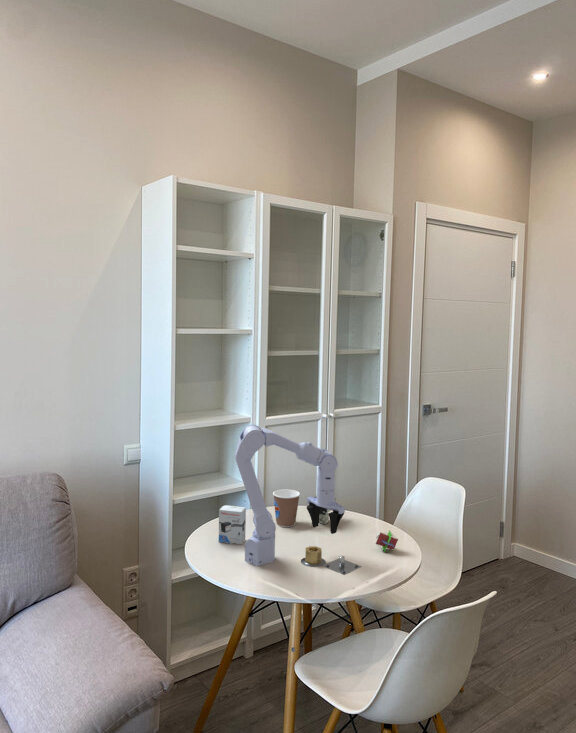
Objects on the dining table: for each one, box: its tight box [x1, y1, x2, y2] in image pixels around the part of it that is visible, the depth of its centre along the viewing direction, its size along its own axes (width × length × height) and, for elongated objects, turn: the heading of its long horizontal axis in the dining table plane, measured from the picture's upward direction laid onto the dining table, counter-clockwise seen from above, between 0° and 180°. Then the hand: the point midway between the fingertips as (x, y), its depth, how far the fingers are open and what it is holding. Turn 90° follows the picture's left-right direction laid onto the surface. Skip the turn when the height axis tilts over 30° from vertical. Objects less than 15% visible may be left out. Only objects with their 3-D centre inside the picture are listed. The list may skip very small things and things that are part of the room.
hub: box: [322, 555, 362, 576], centre depth 189 cm, size 9×9×4 cm
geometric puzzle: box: [374, 530, 399, 553], centre depth 205 cm, size 7×7×8 cm
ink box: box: [218, 505, 247, 545], centre depth 210 cm, size 8×5×12 cm, turn 76°
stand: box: [300, 557, 327, 568], centre depth 192 cm, size 8×8×4 cm
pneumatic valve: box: [314, 495, 336, 525], centre depth 230 cm, size 6×12×12 cm, turn 154°
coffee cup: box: [272, 488, 301, 528], centre depth 228 cm, size 10×10×12 cm
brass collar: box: [304, 545, 323, 565], centre depth 192 cm, size 5×5×4 cm
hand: (324, 529), depth 196 cm, fingers open, 7 cm apart
